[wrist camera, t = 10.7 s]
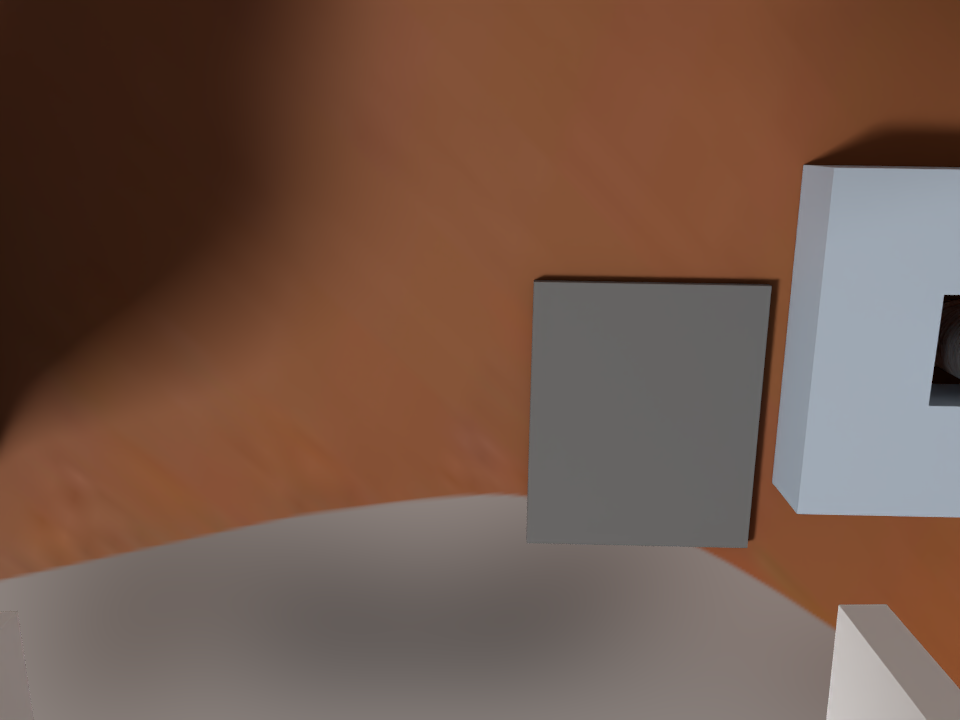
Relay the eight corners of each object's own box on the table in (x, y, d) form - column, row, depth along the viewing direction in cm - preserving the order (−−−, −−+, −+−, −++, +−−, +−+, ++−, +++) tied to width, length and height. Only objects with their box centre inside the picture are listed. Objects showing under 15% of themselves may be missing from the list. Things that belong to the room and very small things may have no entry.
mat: (526, 538, 41) (526, 543, 41) (534, 280, 39) (534, 281, 38) (744, 542, 41) (747, 547, 41) (768, 284, 38) (771, 286, 38)
